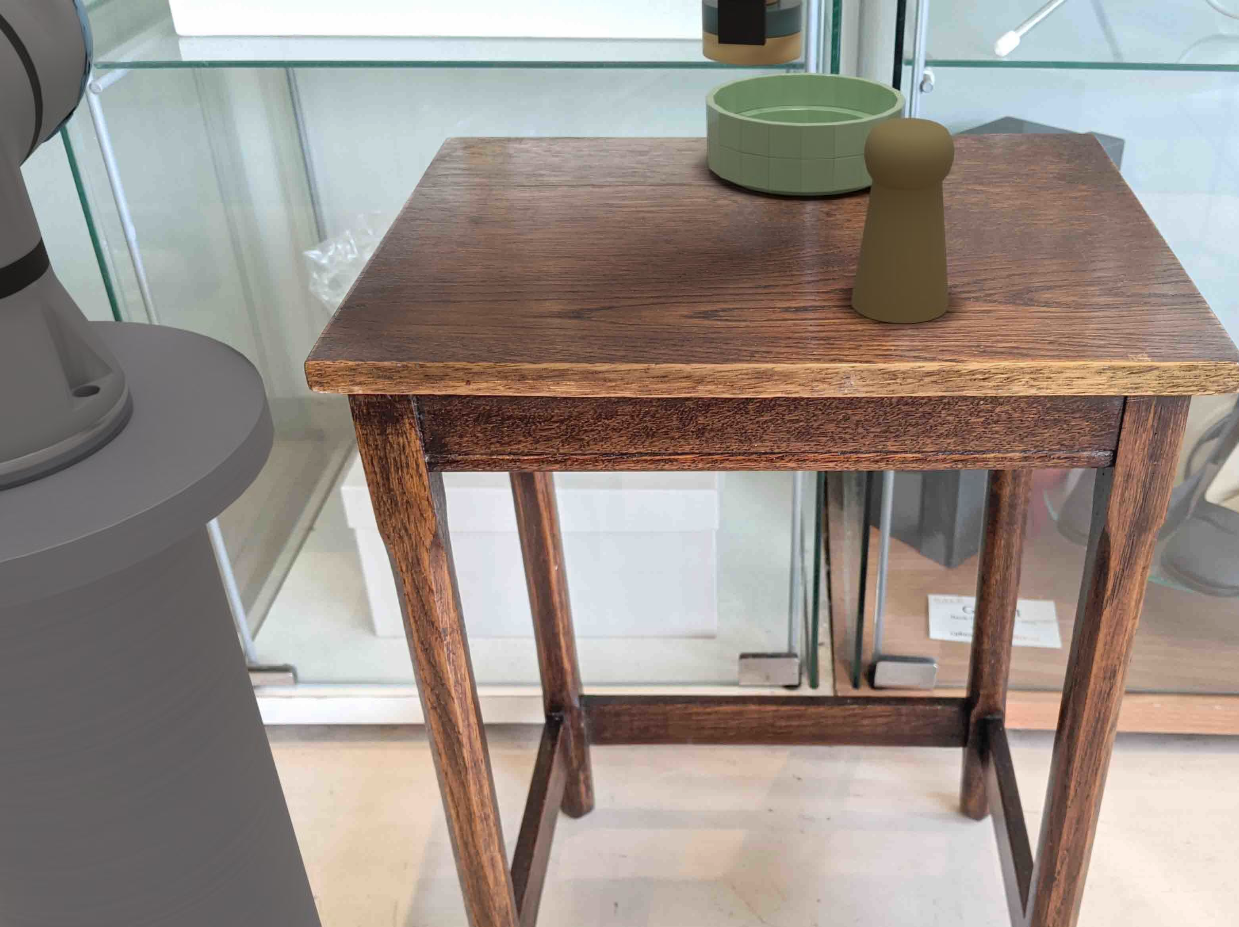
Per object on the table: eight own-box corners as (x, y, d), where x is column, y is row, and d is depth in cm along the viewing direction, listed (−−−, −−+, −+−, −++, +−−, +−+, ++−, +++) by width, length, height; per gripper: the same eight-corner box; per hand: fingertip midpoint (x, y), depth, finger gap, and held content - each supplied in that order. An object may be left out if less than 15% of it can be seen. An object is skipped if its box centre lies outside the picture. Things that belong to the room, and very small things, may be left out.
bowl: (798, 215, 94) (799, 137, 91) (669, 166, 103) (666, 94, 100) (940, 172, 102) (946, 100, 99) (808, 130, 112) (810, 63, 109)
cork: (864, 326, 78) (873, 140, 71) (840, 288, 83) (846, 111, 76) (961, 319, 79) (978, 134, 72) (932, 282, 84) (945, 106, 77)
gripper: (805, -481, 57) (794, 72, 70) (842, -445, 72) (827, 2, 85) (637, -481, 58) (657, 66, 71) (709, -445, 73) (714, -3, 86)
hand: (750, 30), depth 78 cm, fingers closed on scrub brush, 6 cm apart
